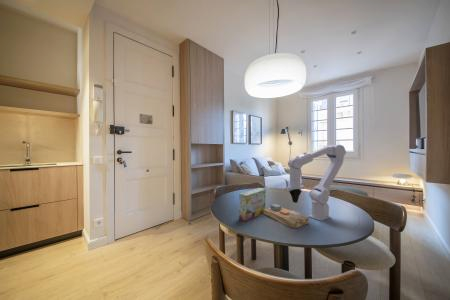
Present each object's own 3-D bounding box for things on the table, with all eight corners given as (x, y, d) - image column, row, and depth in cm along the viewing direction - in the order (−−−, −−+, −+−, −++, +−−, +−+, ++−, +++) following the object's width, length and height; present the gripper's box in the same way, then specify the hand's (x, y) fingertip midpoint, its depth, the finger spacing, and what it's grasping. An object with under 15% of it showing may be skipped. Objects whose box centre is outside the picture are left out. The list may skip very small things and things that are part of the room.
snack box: (246, 222, 97) (246, 195, 96) (238, 219, 100) (238, 193, 100) (265, 211, 112) (265, 188, 112) (258, 209, 116) (258, 187, 116)
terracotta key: (284, 216, 105) (284, 209, 105) (290, 218, 101) (290, 211, 101) (279, 217, 102) (279, 210, 102) (285, 220, 99) (285, 213, 99)
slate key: (275, 210, 111) (275, 203, 111) (281, 212, 107) (281, 205, 107) (270, 211, 108) (270, 205, 108) (276, 213, 105) (276, 207, 105)
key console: (277, 210, 114) (277, 206, 114) (308, 223, 95) (308, 217, 95) (264, 214, 108) (263, 209, 108) (294, 228, 89) (294, 222, 89)
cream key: (294, 217, 99) (294, 210, 98) (301, 220, 95) (301, 213, 95) (289, 219, 96) (289, 212, 96) (296, 222, 92) (296, 214, 92)
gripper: (297, 176, 108) (297, 198, 108) (280, 178, 101) (280, 202, 101) (307, 178, 102) (307, 201, 102) (291, 180, 95) (291, 205, 95)
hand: (295, 202), depth 101 cm, fingers closed
